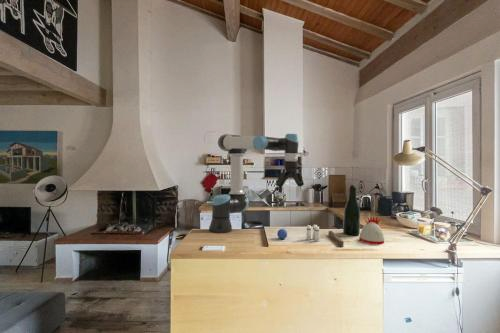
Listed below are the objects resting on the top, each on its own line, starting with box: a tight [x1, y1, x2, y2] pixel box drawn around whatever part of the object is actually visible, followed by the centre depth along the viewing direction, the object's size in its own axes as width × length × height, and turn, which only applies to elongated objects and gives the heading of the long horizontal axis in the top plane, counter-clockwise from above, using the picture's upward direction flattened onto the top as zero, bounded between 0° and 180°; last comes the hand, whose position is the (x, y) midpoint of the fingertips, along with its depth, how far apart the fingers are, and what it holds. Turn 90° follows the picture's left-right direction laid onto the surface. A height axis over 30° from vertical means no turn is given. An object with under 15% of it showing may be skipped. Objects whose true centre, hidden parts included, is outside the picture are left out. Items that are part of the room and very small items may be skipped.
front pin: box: [306, 224, 312, 241], centre depth 167 cm, size 2×2×8 cm
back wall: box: [328, 230, 344, 248], centre depth 167 cm, size 2×24×3 cm, turn 179°
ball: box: [277, 228, 288, 240], centre depth 168 cm, size 6×6×6 cm
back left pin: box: [312, 224, 318, 240], centre depth 170 cm, size 2×2×8 cm
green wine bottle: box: [342, 184, 361, 236], centre depth 185 cm, size 10×10×33 cm
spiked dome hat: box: [359, 216, 385, 245], centre depth 169 cm, size 14×14×15 cm
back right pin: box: [313, 226, 320, 243], centre depth 165 cm, size 2×2×8 cm
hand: (289, 197), depth 159 cm, fingers open, 13 cm apart
